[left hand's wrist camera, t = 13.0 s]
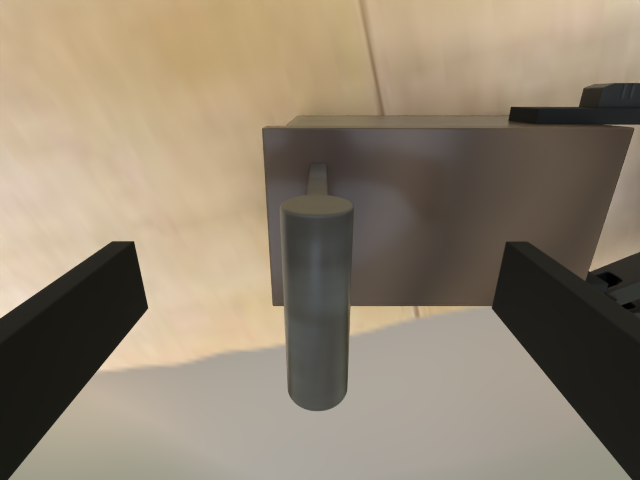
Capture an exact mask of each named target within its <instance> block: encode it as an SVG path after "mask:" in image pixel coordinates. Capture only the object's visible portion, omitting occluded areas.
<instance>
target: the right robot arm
mask: <svg viewBox="0 0 640 480" xmlns="http://www.w3.org/2000/svg"><path fill="white" fill-rule="evenodd" d="M508 121H516V122H524V123H532V124H640V83H611V84H594V85H591V86H588V87H586V88H584V89H583V93H582V97H581V101H580V105H579V107H511V110H510V115H509V120H508ZM586 282H587V283H589V284H590V285H592V286H593V287H595V288H596V289H598V290H599V291H601V292H602V293H603V294H605V295H606V296H608V297H609V298H611V299H612V300H614V301H615V302H616V303H618V304H619V305H621V306H622V307H624V308H625V309H627V310H628V311H630V312H631V313H632V314H635V315H637V316H639V317H640V252H639V253H636V254H634V255H631V256H629V257H626V258H624V259H621V260H619V261H616V262H614V263H611V264H609V265H606V266H604V267H601V268H599V269H596V270H594V271H591V272H589V271H588V274H587V277H586Z"/></svg>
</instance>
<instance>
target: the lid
mask: <svg viewBox="0 0 640 480" xmlns="http://www.w3.org/2000/svg"><path fill="white" fill-rule="evenodd" d="M633 132H634V128H632V127H621V126H266V127H264V128H263V129H262V134H263V151H264V168H265V185H266V201H267V218H268V235H269V252H270V268H271V285H272V302H273V306H284V315H285V337H286V358H287V381H288V392H289V395H290V397H291V399H292V400H293V401H294V402H295V403H296V404H297V405H298V406H300V407H302V408H304V409H307V410H311V411H324V410H328V409H331V408H333V407H335V406H336V405H338V404H339V403H340V402H341V401H342V400H343V398H344V397H345V395H346V392H347V381H348V354H349V328H350V306H492V305H493V300H494V295H495V291H496V286H497V281H498V277H499V272H500V267H501V263H502V258H503V253H504V249H505V244H506V241H528V242H529V243H531V244H532V245H534V246H535V247H537V248H538V249H539V250H541V251H542V252H544V253H545V254H547V255H548V256H550V257H551V258H553V259H554V260H555V261H557V262H558V263H560V264H561V265H563V266H564V267H566V268H567V269H569V270H570V271H571V272H573V273H574V274H576V275H577V276H579V277H580V278H582V279H583V280H585V281H586V277H587V274H588V271H589V268H590V265H591V262H592V259H593V256H594V253H595V250H596V246H597V243H598V240H599V237H600V234H601V231H602V228H603V225H604V222H605V218H606V215H607V212H608V209H609V206H610V203H611V200H612V197H613V194H614V191H615V187H616V184H617V181H618V178H619V175H620V172H621V169H622V166H623V163H624V160H625V156H626V153H627V150H628V147H629V144H630V141H631V138H632V135H633Z"/></svg>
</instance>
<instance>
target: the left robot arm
mask: <svg viewBox="0 0 640 480" xmlns="http://www.w3.org/2000/svg"><path fill="white" fill-rule="evenodd" d="M147 309H148V305H147V300H146V295H145V291H144V286H143V281H142V277H141V272H140V267H139V263H138V258H137V253H136V249H135V244H134V241H112V242H111V243H109V244H108V245H106V246H105V247H103V248H102V249H101V250H99V251H98V252H96V253H95V254H93V255H92V256H90V257H89V258H87V259H86V260H85V261H83V262H82V263H80V264H79V265H77V266H76V267H74V268H73V269H71V270H70V271H69V272H67V273H66V274H64V275H63V276H61V277H60V278H58V279H57V280H55V281H54V282H53V283H51V284H50V285H48V286H47V287H45V288H44V289H42V290H41V291H39V292H38V293H37V294H35V295H34V296H32V297H31V298H29V299H28V300H26V301H25V302H24V303H22V304H21V305H19V306H18V307H16V308H15V309H13V310H12V311H10V312H9V313H8V314H6V315H5V316H3V317H2V318H0V480H8V479H9V478H10V476H11V475H12V474H13V473H14V472H15V470H16V469H17V468H18V467H19V465H20V464H21V463H22V462H23V461H24V459H25V458H26V457H27V456H28V454H29V453H30V452H31V451H32V450H33V448H34V447H35V446H36V445H37V443H38V442H39V441H40V440H41V439H42V437H43V436H44V435H45V434H46V432H47V431H48V430H49V429H50V428H51V426H52V425H53V424H54V423H55V422H56V420H57V419H58V418H59V417H60V415H61V414H62V413H63V412H64V411H65V409H66V408H67V407H68V406H69V404H70V403H71V402H72V401H73V400H74V398H75V397H76V396H77V395H78V393H79V392H80V391H81V390H82V388H83V387H84V386H85V385H86V384H87V382H88V381H89V380H90V379H91V378H92V376H93V375H94V374H95V373H96V371H97V370H98V369H99V368H100V367H101V365H102V364H103V363H104V362H105V360H106V359H107V358H108V357H109V356H110V354H111V353H112V352H113V351H114V349H115V348H116V347H117V346H118V345H119V343H120V342H121V341H122V340H123V338H124V337H125V336H126V335H127V334H128V332H129V331H130V330H131V329H132V327H133V326H134V325H135V324H136V323H137V321H138V320H139V319H140V318H141V317H142V315H143V314H144V313H145V312H146V310H147ZM492 309H493V310H494V312H495V313H496V314H497V315H498V317H499V318H500V319H501V320H502V321H503V323H504V324H505V325H506V326H507V327H508V329H509V330H510V331H511V332H512V334H513V335H514V336H515V337H516V338H517V340H518V341H519V342H520V343H521V345H522V346H523V347H524V348H525V349H526V351H527V352H528V353H529V354H530V356H531V357H532V358H533V359H534V360H535V362H536V363H537V364H538V365H539V366H540V368H541V369H542V370H543V371H544V373H545V374H546V375H547V376H548V378H549V379H550V380H551V381H552V382H553V384H554V385H555V386H556V387H557V389H558V390H559V391H560V392H561V393H562V395H563V396H564V397H565V398H566V400H567V401H568V402H569V403H570V404H571V406H572V407H573V408H574V409H575V410H576V412H577V413H578V414H579V415H580V417H581V418H582V419H583V420H584V422H585V423H586V424H587V425H588V426H589V428H590V429H591V430H592V431H593V433H594V434H595V435H596V436H597V437H598V439H599V440H600V441H601V442H602V443H603V445H604V446H605V447H606V448H607V450H608V451H609V452H610V453H611V454H612V456H613V457H614V458H615V459H616V461H617V462H618V463H619V464H620V465H621V467H622V468H623V469H624V470H625V472H626V473H627V474H628V475H629V476H630V478H631V479H632V480H640V317H639V316H637V315H635V314H632V313H631V312H630V311H628V310H627V309H625V308H624V307H622V306H621V305H619V304H618V303H616V302H615V301H614V300H612V299H611V298H609V297H608V296H606V295H605V294H603V293H602V292H601V291H599V290H598V289H596V288H595V287H593V286H592V285H590V284H589V283H587V282H586V281H585V280H583V279H582V278H580V277H579V276H577V275H576V274H574V273H573V272H571V271H570V270H569V269H567V268H566V267H564V266H563V265H561V264H560V263H558V262H557V261H555V260H554V259H553V258H551V257H550V256H548V255H547V254H545V253H544V252H542V251H541V250H539V249H538V248H537V247H535V246H534V245H532V244H531V243H529V242H528V241H506V244H505V249H504V253H503V258H502V263H501V267H500V272H499V277H498V281H497V286H496V291H495V295H494V300H493V305H492Z"/></svg>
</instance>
